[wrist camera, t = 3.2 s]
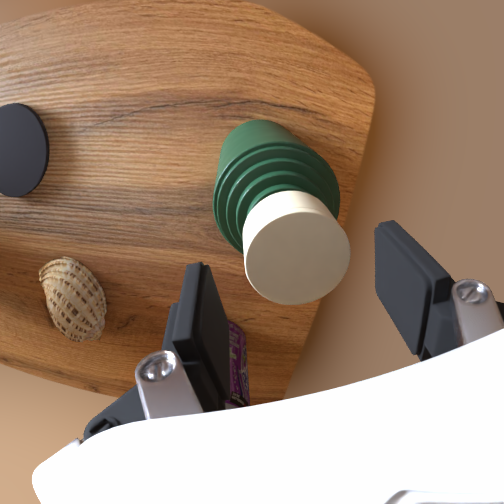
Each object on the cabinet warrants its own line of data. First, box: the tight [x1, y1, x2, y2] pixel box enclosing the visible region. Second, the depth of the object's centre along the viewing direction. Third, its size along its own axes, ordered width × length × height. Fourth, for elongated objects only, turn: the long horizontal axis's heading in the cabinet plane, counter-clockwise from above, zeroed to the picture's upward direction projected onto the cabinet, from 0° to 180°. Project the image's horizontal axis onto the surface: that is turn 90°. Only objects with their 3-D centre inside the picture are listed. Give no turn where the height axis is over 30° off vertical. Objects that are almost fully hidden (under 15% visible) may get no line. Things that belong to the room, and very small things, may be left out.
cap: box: [243, 191, 350, 305], centre depth 13 cm, size 4×4×2 cm
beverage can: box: [220, 321, 250, 411], centre depth 32 cm, size 7×7×12 cm
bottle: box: [213, 120, 340, 255], centre depth 20 cm, size 7×7×18 cm
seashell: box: [39, 257, 107, 342], centre depth 32 cm, size 8×6×10 cm
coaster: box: [0, 103, 49, 197], centre depth 25 cm, size 10×10×1 cm
